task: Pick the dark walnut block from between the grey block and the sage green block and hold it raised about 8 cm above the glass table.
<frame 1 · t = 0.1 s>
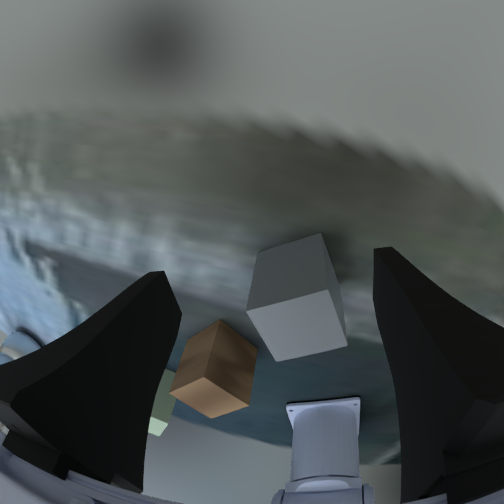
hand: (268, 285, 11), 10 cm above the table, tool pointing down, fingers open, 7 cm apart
walnut block: (221, 344, 27), on the table
sage block: (159, 377, 32), on the table
plastic bottle: (33, 341, 34), on the table
grey block: (299, 268, 22), on the table
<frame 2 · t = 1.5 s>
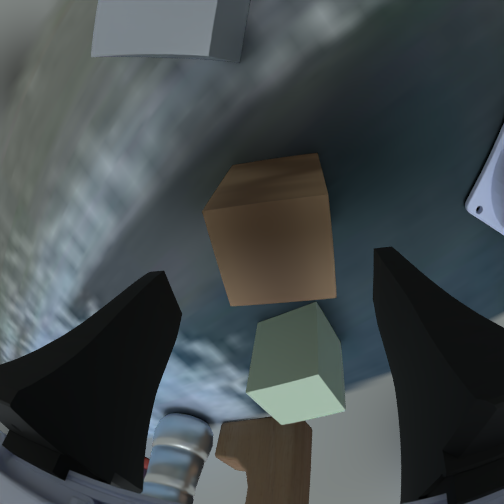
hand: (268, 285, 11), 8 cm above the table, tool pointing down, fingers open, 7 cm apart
walnut block: (281, 197, 17), on the table
wooden block: (266, 424, 31), on the table
sage block: (300, 333, 22), on the table
plastic bottle: (188, 418, 32), on the table
grey block: (202, 19, 12), on the table
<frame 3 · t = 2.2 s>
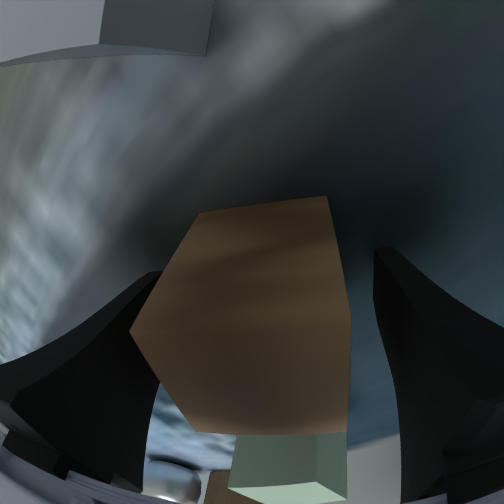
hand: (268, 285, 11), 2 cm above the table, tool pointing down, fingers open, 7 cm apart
walnut block: (272, 258, 12), on the table
wooden block: (259, 474, 25), on the table
sage block: (296, 404, 17), on the table
plastic bottle: (175, 464, 27), on the table
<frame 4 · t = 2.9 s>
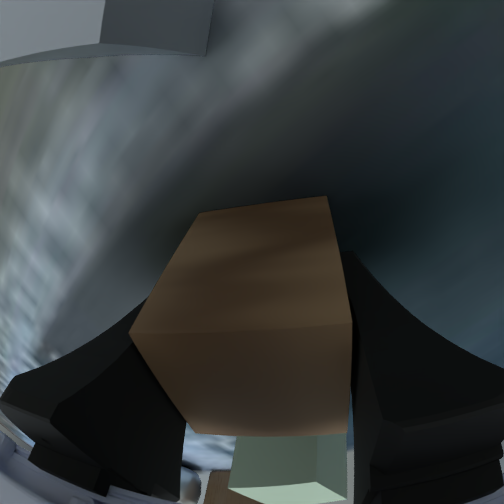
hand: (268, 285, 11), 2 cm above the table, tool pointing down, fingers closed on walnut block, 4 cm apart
walnut block: (272, 258, 12), on the table, touching gripper
wooden block: (259, 474, 25), on the table
sage block: (296, 404, 17), on the table
plastic bottle: (175, 464, 27), on the table
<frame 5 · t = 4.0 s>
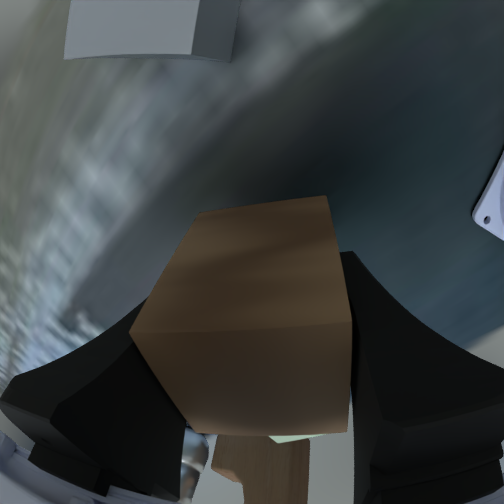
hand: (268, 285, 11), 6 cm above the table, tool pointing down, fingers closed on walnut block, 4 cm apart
walnut block: (271, 258, 12), point 5 cm above the table, touching gripper
wooden block: (263, 436, 29), on the table
plastic bottle: (184, 429, 31), on the table
grey block: (189, 15, 11), on the table
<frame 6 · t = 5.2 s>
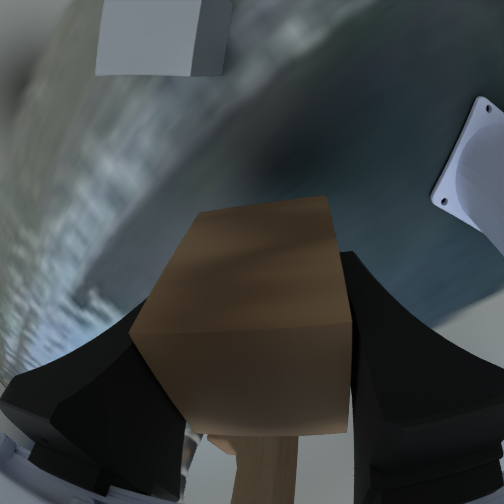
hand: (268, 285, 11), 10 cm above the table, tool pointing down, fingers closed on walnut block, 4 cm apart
walnut block: (271, 258, 12), point 8 cm above the table, touching gripper
wooden block: (256, 409, 33), on the table
plastic bottle: (183, 404, 34), on the table
grey block: (189, 37, 15), on the table
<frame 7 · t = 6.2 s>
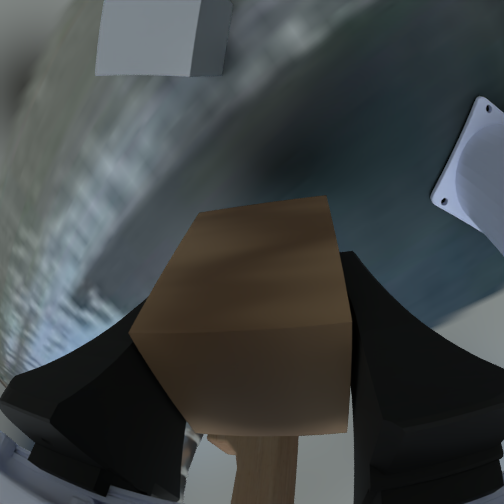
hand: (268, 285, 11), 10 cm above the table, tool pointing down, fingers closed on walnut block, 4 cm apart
walnut block: (271, 258, 12), point 8 cm above the table, touching gripper
wooden block: (256, 409, 33), on the table
plastic bottle: (183, 404, 34), on the table
grey block: (189, 37, 15), on the table
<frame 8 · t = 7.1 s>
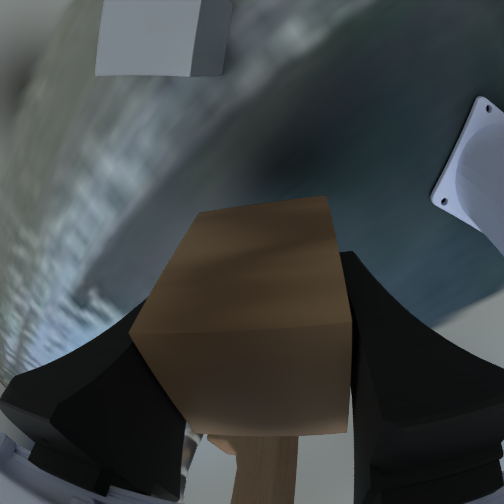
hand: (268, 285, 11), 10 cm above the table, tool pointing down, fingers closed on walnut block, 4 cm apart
walnut block: (271, 258, 12), point 8 cm above the table, touching gripper
wooden block: (256, 409, 33), on the table
plastic bottle: (183, 404, 34), on the table
grey block: (189, 37, 15), on the table
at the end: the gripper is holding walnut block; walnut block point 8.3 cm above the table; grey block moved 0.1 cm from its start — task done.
